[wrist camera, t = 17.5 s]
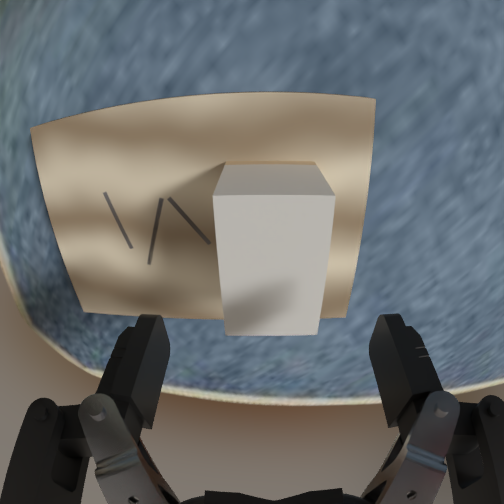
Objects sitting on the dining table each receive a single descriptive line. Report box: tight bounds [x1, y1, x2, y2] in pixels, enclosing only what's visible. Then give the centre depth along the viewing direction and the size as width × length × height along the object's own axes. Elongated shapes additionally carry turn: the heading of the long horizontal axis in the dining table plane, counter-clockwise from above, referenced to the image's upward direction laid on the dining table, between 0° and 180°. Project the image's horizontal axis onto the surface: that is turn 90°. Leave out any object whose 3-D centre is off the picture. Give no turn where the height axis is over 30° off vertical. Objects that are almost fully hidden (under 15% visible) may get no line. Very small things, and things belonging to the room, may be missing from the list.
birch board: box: [30, 92, 376, 319], centre depth 20 cm, size 16×22×2 cm
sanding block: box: [213, 161, 336, 336], centre depth 17 cm, size 8×5×6 cm, turn 1°
